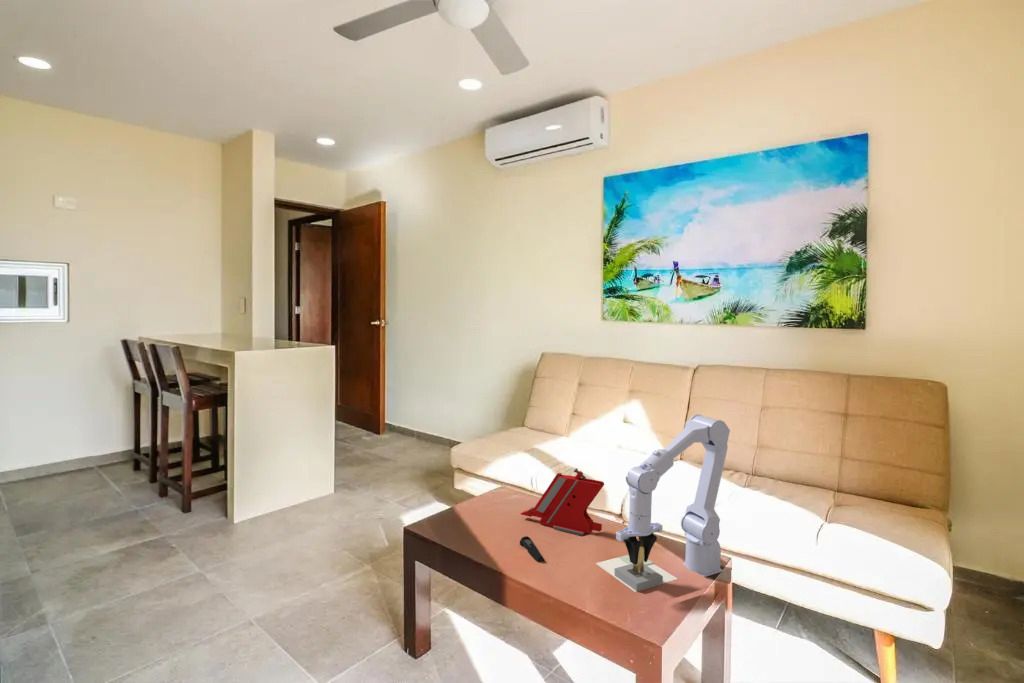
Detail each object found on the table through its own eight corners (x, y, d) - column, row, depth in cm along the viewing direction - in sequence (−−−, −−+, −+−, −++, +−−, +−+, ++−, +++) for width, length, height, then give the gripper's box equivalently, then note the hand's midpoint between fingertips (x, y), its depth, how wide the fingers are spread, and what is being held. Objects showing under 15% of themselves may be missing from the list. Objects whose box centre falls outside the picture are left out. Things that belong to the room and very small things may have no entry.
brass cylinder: (638, 566, 144) (639, 541, 143) (646, 571, 141) (647, 546, 141) (630, 568, 142) (631, 543, 142) (637, 573, 140) (638, 548, 139)
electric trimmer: (534, 567, 150) (535, 557, 150) (518, 544, 165) (518, 534, 165) (546, 566, 151) (547, 555, 151) (529, 542, 166) (530, 533, 166)
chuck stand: (635, 555, 157) (636, 546, 157) (677, 582, 142) (678, 571, 142) (595, 566, 151) (595, 556, 150) (634, 595, 136) (635, 584, 135)
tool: (516, 517, 182) (546, 453, 174) (524, 510, 187) (553, 448, 179) (581, 564, 172) (617, 499, 164) (587, 556, 177) (622, 492, 169)
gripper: (650, 503, 148) (648, 550, 148) (609, 511, 141) (607, 560, 142) (668, 512, 141) (666, 560, 142) (626, 521, 135) (624, 572, 135)
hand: (638, 561), depth 141 cm, fingers closed on brass cylinder, 3 cm apart
